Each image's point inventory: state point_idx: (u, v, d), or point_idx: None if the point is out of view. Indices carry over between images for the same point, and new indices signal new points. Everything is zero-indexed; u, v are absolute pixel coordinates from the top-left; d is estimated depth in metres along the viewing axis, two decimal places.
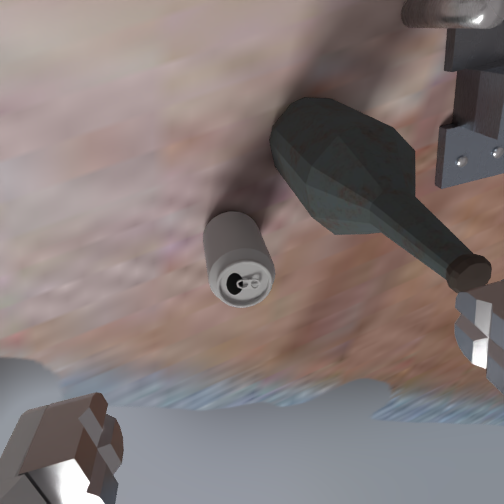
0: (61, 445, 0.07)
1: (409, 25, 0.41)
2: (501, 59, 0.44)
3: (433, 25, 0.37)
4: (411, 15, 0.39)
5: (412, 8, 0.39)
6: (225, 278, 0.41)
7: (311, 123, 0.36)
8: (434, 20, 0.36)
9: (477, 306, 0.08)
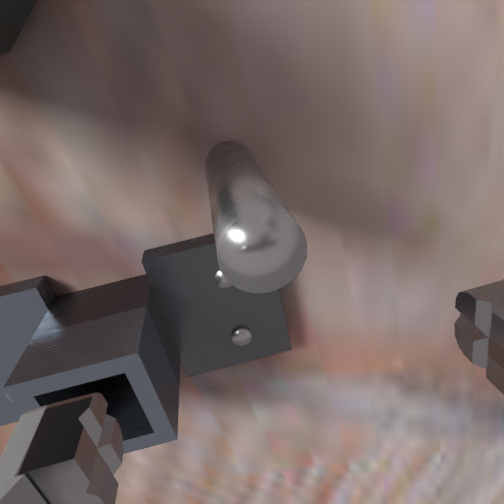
0: (61, 445, 0.07)
1: (208, 158, 0.22)
2: (172, 335, 0.26)
3: (212, 179, 0.18)
4: (224, 150, 0.21)
5: (235, 149, 0.21)
6: None
7: None
8: (222, 172, 0.17)
9: (477, 306, 0.08)
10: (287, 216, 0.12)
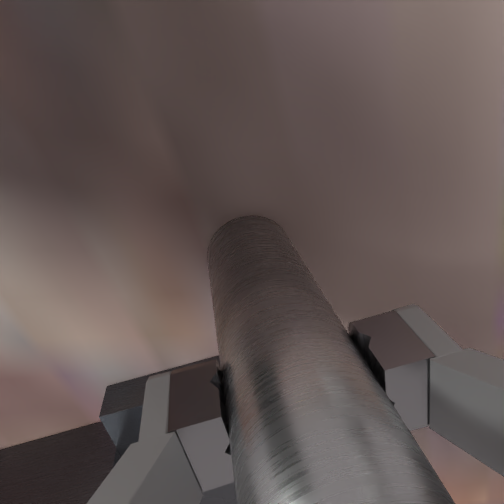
0: (202, 405, 0.07)
1: (213, 248, 0.12)
2: None
3: (228, 332, 0.08)
4: (245, 242, 0.11)
5: (265, 240, 0.11)
6: None
7: None
8: (252, 332, 0.08)
9: (361, 338, 0.08)
10: None
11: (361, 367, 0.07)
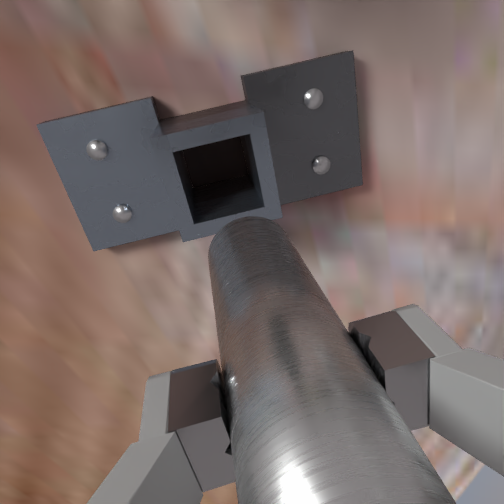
0: (202, 406, 0.07)
1: (214, 249, 0.12)
2: None
3: (229, 333, 0.08)
4: (246, 242, 0.11)
5: (267, 241, 0.11)
6: None
7: None
8: (253, 333, 0.08)
9: (361, 338, 0.08)
10: None
11: (363, 368, 0.07)
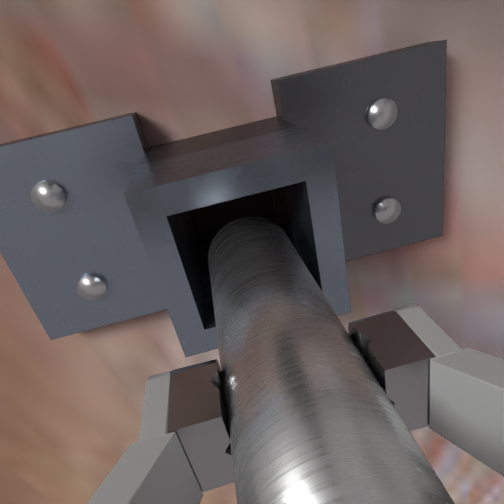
0: (202, 406, 0.07)
1: (214, 249, 0.12)
2: None
3: (228, 333, 0.08)
4: (245, 243, 0.11)
5: (266, 241, 0.11)
6: None
7: None
8: (253, 334, 0.08)
9: (361, 338, 0.08)
10: None
11: (362, 369, 0.07)
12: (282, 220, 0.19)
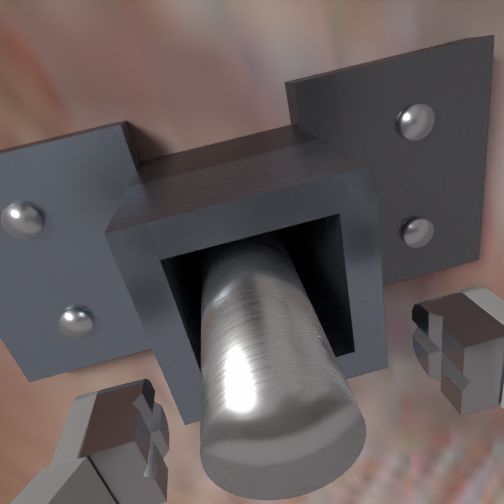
0: (119, 429, 0.07)
1: None
2: None
3: (206, 251, 0.12)
4: None
5: None
6: None
7: None
8: (220, 246, 0.12)
9: (430, 319, 0.08)
10: (332, 387, 0.06)
11: (284, 263, 0.11)
12: (297, 245, 0.17)
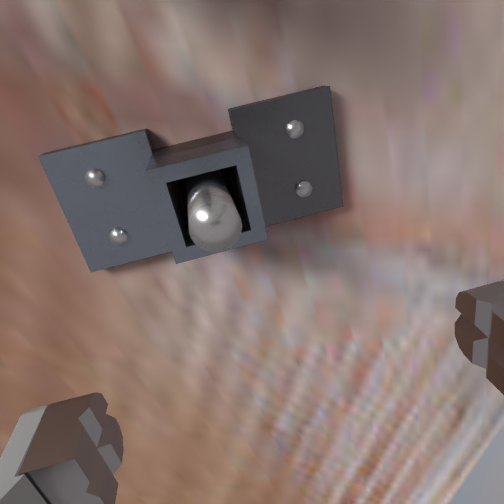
0: (61, 445, 0.07)
1: None
2: None
3: (189, 186, 0.27)
4: None
5: None
6: None
7: None
8: (195, 182, 0.26)
9: (477, 306, 0.08)
10: (228, 205, 0.21)
11: (222, 185, 0.25)
12: (236, 194, 0.31)
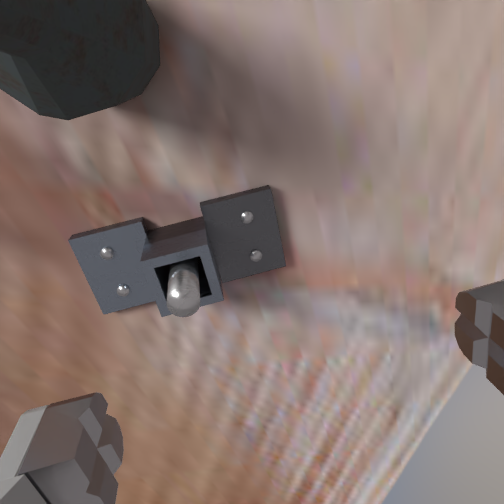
0: (61, 445, 0.07)
1: None
2: (215, 254, 0.44)
3: None
4: None
5: None
6: None
7: None
8: None
9: (477, 306, 0.08)
10: (191, 289, 0.34)
11: (191, 266, 0.38)
12: None
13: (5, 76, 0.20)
